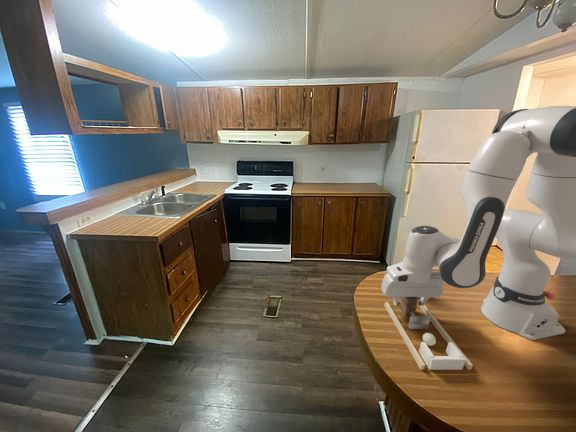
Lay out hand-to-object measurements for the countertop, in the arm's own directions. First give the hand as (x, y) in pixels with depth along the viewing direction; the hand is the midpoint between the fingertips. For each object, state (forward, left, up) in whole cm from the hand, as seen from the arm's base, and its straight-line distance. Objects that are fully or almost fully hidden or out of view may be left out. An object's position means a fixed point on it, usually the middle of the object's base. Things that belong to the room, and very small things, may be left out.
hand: (408, 304), depth 82 cm
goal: (0, +19, -3) cm, 19 cm away
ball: (0, +13, -2) cm, 13 cm away
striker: (0, +3, -3) cm, 4 cm away
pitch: (0, +9, -5) cm, 10 cm away
